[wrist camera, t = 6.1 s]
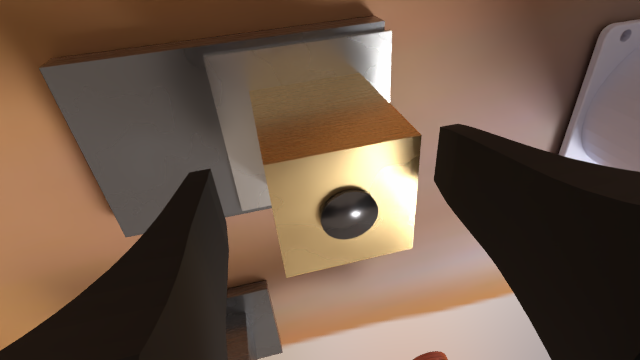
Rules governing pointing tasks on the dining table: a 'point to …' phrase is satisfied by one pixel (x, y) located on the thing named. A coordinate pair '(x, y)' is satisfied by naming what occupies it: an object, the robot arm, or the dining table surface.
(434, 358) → the lever
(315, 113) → the housing
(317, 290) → the dining table surface
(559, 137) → the dining table surface
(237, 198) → the press
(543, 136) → the dining table surface
